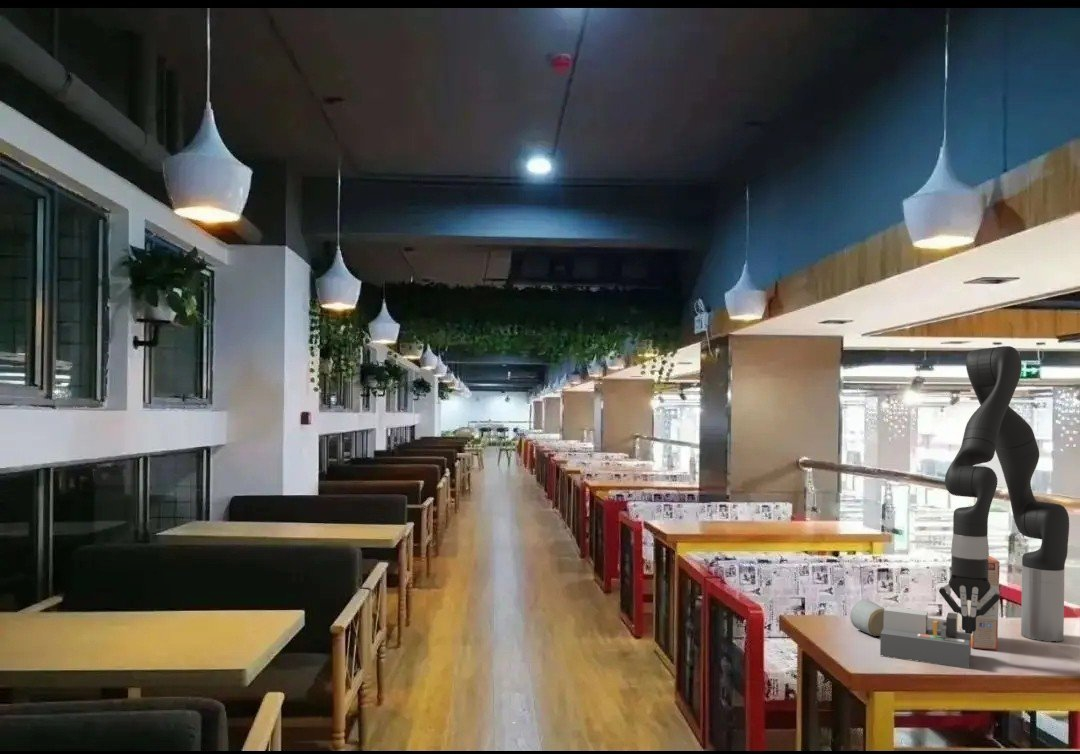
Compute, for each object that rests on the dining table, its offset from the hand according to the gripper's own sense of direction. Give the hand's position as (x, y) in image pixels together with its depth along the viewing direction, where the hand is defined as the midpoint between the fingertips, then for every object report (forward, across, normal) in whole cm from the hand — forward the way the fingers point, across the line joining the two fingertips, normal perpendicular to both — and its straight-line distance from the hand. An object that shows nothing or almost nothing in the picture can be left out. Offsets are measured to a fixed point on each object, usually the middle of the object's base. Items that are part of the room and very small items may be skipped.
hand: (968, 632), depth 205 cm
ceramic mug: (+6, +21, -13) cm, 26 cm away
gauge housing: (+6, +9, +2) cm, 11 cm away
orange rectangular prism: (+1, +7, +4) cm, 8 cm away
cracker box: (+6, -1, -18) cm, 19 cm away
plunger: (+1, +8, +1) cm, 8 cm away
